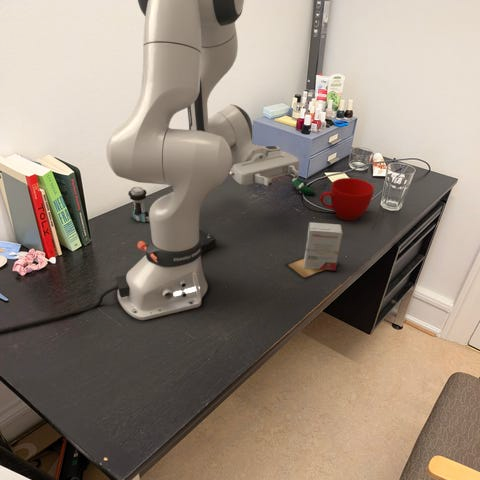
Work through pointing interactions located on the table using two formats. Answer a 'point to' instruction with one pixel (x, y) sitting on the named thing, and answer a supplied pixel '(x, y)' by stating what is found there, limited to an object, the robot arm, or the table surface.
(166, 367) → the table surface
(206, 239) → the disk drive
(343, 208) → the ceramic cup
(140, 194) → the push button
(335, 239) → the ink box
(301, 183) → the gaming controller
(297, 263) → the gold rectangular plate
